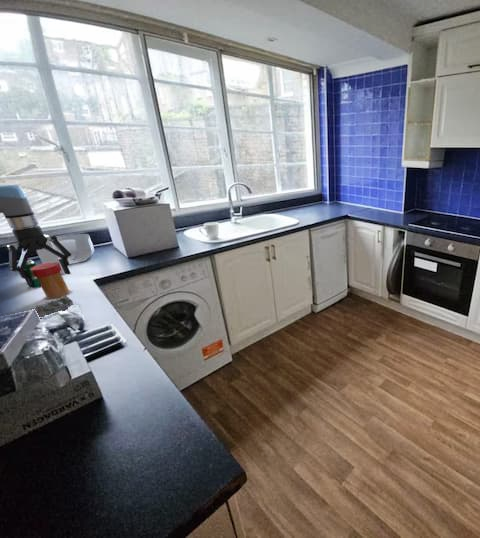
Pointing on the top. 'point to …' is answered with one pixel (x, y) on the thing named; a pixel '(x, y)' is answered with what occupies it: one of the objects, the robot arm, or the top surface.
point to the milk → (48, 255)
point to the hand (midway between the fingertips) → (50, 279)
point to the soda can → (27, 267)
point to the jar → (53, 286)
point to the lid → (45, 269)
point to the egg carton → (53, 306)
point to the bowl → (76, 247)
